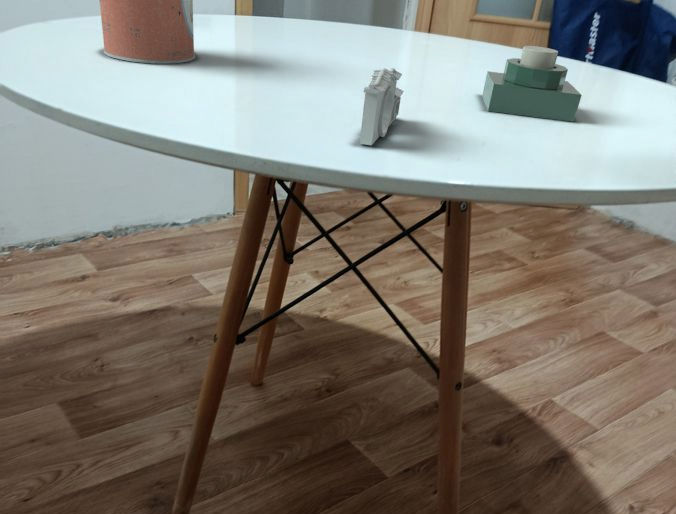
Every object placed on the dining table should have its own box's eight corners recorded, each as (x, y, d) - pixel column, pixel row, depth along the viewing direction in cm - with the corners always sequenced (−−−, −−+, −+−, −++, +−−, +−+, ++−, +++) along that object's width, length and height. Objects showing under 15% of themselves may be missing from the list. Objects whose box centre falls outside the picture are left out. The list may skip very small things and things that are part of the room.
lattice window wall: (383, 116, 67) (391, 55, 64) (400, 119, 67) (409, 58, 63) (355, 145, 57) (363, 75, 54) (374, 148, 57) (384, 78, 53)
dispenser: (560, 106, 80) (572, 63, 77) (573, 121, 74) (587, 76, 71) (482, 96, 81) (491, 53, 78) (487, 111, 74) (498, 64, 71)
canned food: (193, 66, 78) (190, -48, 72) (97, 59, 76) (85, -59, 70) (196, 50, 87) (193, -53, 81) (110, 43, 85) (100, -62, 79)
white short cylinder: (550, 67, 76) (555, 48, 75) (556, 73, 73) (561, 53, 72) (516, 63, 76) (521, 44, 75) (521, 68, 73) (526, 49, 72)
